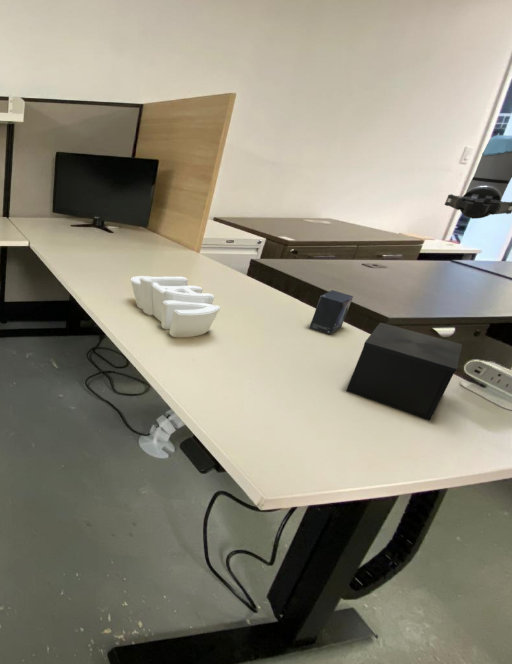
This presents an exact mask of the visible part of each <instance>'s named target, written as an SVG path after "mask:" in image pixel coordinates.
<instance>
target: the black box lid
mask: <svg viewBox="0 0 512 664" xmlns="http://www.w3.org/2000/svg"><path fill="white" fill-rule="evenodd" d="M364 345H365V346H368V347H372V348H375V349H378V350H382V351H385V352H388V353H392V354H395V355H398V356H402V357H405V358H408V359H412V360H415V361H418V362H422V363H425V364H428V365H432V366H435V367H439V368H442V369H445V370H449V371H452V372H454V373H456V371H457V369H458V365H459V361H460V360H459V359H460V356H461V351H462V347H463V344H462V343H460V342H459V343H458V342H455V341H451V340H447V339H444V338H439V337H436V336H433V335H429V334H425V333H421V332H417V331H414V330H410V329H406V328H402V327H400V326H399V327H398V326H396V325H391V324H388V323H383V322H379V323H378V325H377V326H376V327H375V328H374V330H373V331H372V333H371V334H370V335H369V336H368V338H367V339H366V340H365V341H364V344H363V346H364Z"/></svg>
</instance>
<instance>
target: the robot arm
mask: <svg viewBox="0 0 512 664" xmlns="http://www.w3.org/2000/svg"><path fill="white" fill-rule="evenodd" d="M511 180H512V135H504V134H501V135H500V134H499V135H494V136H492V137H491V138H490V139H489V141H488V143H487V144H486V145H485V148H484V150H483V152H482V153H481V157H480V159H479V162H478V164H477V166H476V170H475V172H474V175H473V177H472V178H471V180H470V182H469V183H468V186H467V189H466V191H465V193H464V195H463V196H459V195H454V194H452V193H450V194H448V195H447V198H446V200H445V202H444V205H445V206H447V207H451V208H452V209H455V210H456V211H460V212H461V214H463V216H465V217H466V218H469V219H472V220H473V219H474V220H475V219H483V218H486V217H489V216H490V215H492V216H494V215H501V214H502V215H503V214H504V215H505V214H506V215H510V214H512V201H503V200H502V199H503V196H504V195H505V192H506V190H507V188H508V186H509V184H510V182H511Z"/></svg>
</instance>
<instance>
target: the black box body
mask: <svg viewBox="0 0 512 664" xmlns="http://www.w3.org/2000/svg"><path fill="white" fill-rule="evenodd" d="M361 349H362V350H361V352H360V354H359V358H358V360H357V362H356V364H355V367H354V370H353V372H352V375H351V377H350V380H349V382H348V385H347V387H346V390H345V391H346V392H347V393H350V394H352V395H355V396H358V397H362V398H365V399H367V400H370V401H372V402H376V403H378V404H381V405H384V406H387V407H390V408H393V409H395V410H398V411H401V412H404V413H406V414H409V415H412V416H414V417H417V418H419V419H424V420H426V421H429V422H431V420H432V418H433V416H434V415H435V412H436V410H437V408H438V406H439V404H440V402H441V401H442V398H443V396H444V394H445V392H446V390H447V388H448V386H449V384H450V382H451V380H452V378H453V376H454V374H455V372H452V371H449V370H445V369H442V368H439V367H435V366H432V365H428V364H425V363H422V362H418V361H415V360H412V359H408V358H405V357H402V356H398V355H395V354H392V353H388V352H385V351H382V350H378V349H375V348H372V347H368V346H365V345H364V344H363V347H362V348H361Z"/></svg>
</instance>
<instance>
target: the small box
mask: <svg viewBox="0 0 512 664" xmlns="http://www.w3.org/2000/svg"><path fill="white" fill-rule="evenodd" d="M353 298H354V296H353V295H350V294H347V293H344V292H340V291H337V290H334V289H332V290H329V291H327V292H326V293H323V294H321V295H320V296H319V299H318V302H317V305H316V308H315V309H314V313H313V316H312V319H311V322H310V324H309V327H308V329H311V330H313V331H317V332H320V333H323V334H326V335H329V336H331V335H332V334H333V333H335V332H336V331H338V330H340V329H341V328H342V327H343V324H344V321H345V319H346V316H347V313H348V311H349V308H350V306H351V304H352V301H353Z"/></svg>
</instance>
